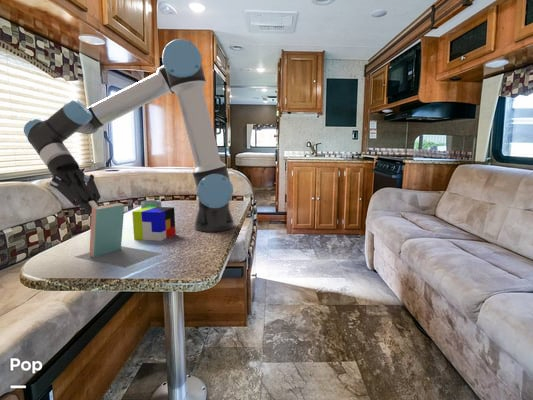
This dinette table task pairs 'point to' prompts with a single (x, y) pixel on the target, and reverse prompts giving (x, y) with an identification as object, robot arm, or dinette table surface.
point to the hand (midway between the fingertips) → (101, 220)
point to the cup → (151, 203)
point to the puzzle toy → (154, 223)
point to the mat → (121, 256)
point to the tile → (106, 229)
